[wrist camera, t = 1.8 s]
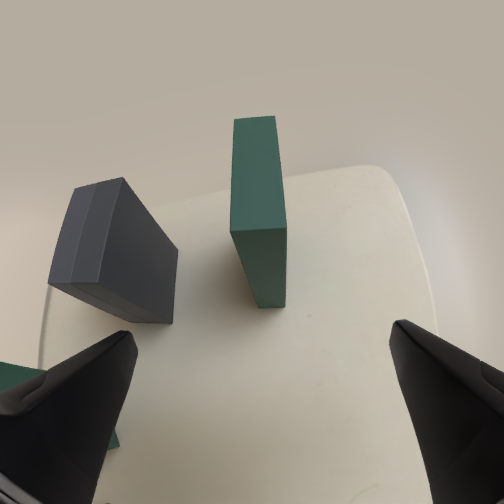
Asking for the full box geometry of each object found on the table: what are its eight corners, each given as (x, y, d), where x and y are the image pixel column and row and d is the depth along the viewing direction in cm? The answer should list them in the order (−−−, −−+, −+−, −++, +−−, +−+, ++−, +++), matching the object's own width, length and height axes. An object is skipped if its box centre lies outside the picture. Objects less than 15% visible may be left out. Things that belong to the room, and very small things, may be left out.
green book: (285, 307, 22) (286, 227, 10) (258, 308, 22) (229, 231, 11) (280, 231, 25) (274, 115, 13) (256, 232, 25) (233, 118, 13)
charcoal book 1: (151, 323, 23) (70, 283, 13) (130, 322, 23) (47, 283, 13) (158, 251, 26) (97, 182, 16) (138, 252, 26) (74, 188, 16)
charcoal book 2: (172, 323, 22) (97, 283, 13) (150, 323, 23) (69, 283, 13) (178, 249, 25) (123, 176, 15) (157, 251, 26) (96, 182, 16)
